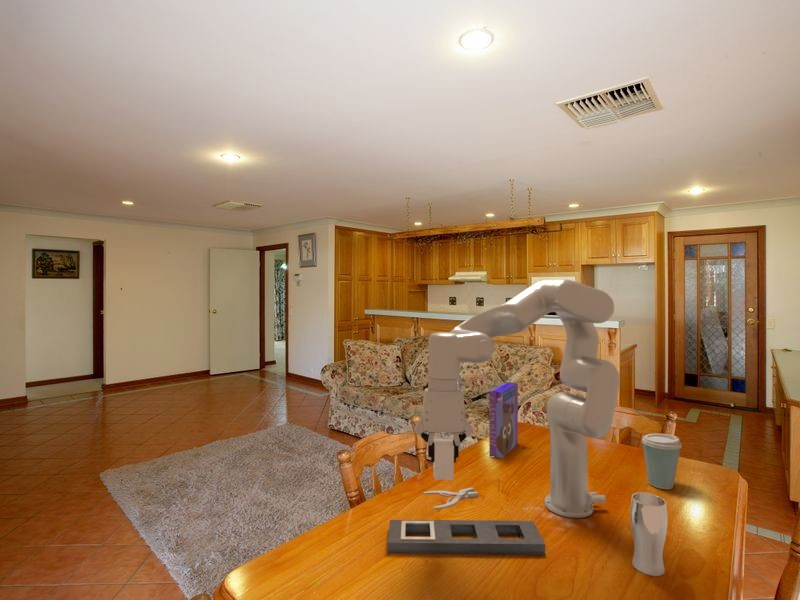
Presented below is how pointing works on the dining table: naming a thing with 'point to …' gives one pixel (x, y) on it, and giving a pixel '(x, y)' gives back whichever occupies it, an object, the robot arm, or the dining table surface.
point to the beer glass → (648, 532)
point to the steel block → (443, 459)
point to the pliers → (462, 494)
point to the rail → (482, 543)
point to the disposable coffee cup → (661, 459)
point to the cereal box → (503, 419)
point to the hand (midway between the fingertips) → (443, 459)
